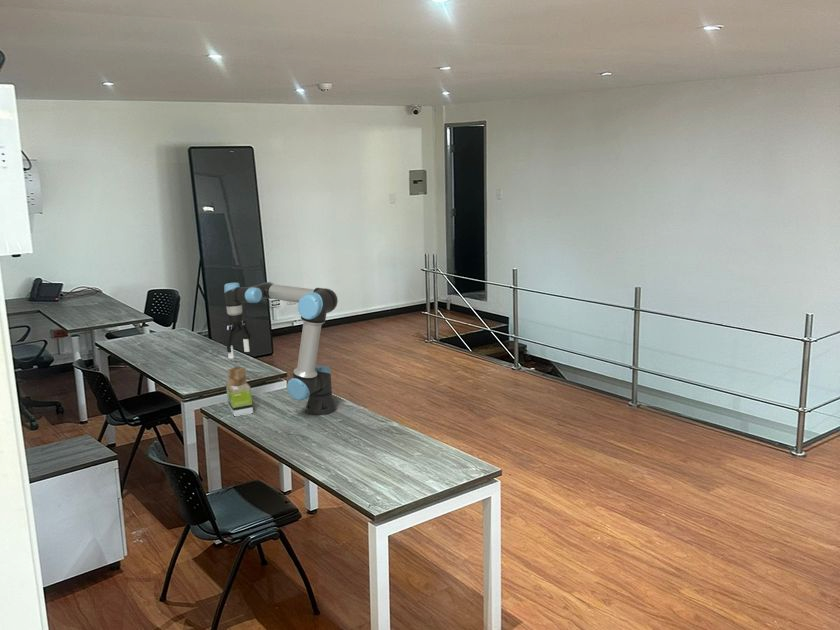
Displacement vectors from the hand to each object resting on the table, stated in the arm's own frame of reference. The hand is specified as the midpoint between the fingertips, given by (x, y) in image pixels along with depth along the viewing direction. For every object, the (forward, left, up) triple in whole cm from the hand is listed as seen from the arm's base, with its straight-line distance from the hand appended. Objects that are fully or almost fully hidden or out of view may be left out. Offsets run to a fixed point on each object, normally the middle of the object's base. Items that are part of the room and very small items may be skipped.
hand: (239, 355), depth 382 cm
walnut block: (+1, +2, -15) cm, 15 cm away
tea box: (+1, +2, -30) cm, 30 cm away
